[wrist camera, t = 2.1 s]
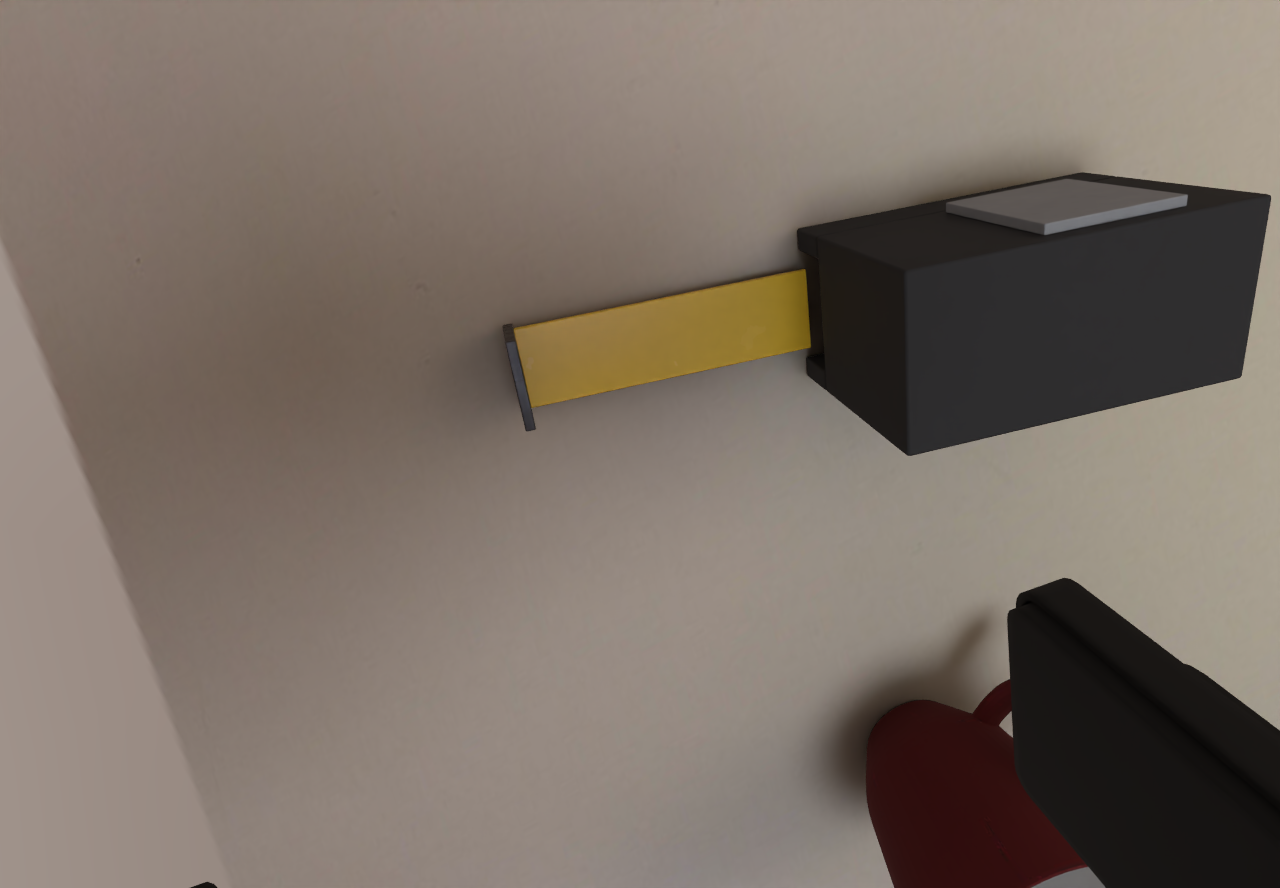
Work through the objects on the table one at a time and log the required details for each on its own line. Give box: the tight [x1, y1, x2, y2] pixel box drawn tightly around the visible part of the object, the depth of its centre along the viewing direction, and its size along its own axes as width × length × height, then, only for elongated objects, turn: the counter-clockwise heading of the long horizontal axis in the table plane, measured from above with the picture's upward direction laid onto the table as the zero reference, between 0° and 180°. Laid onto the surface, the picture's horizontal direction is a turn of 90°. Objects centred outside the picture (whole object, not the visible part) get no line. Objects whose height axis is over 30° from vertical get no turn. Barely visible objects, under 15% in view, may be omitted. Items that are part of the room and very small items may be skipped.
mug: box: [866, 679, 1106, 888], centre depth 30 cm, size 10×8×10 cm
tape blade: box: [503, 269, 811, 431], centre depth 25 cm, size 10×3×2 cm, turn 99°
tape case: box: [797, 173, 1271, 456], centre depth 24 cm, size 10×6×7 cm, turn 99°
